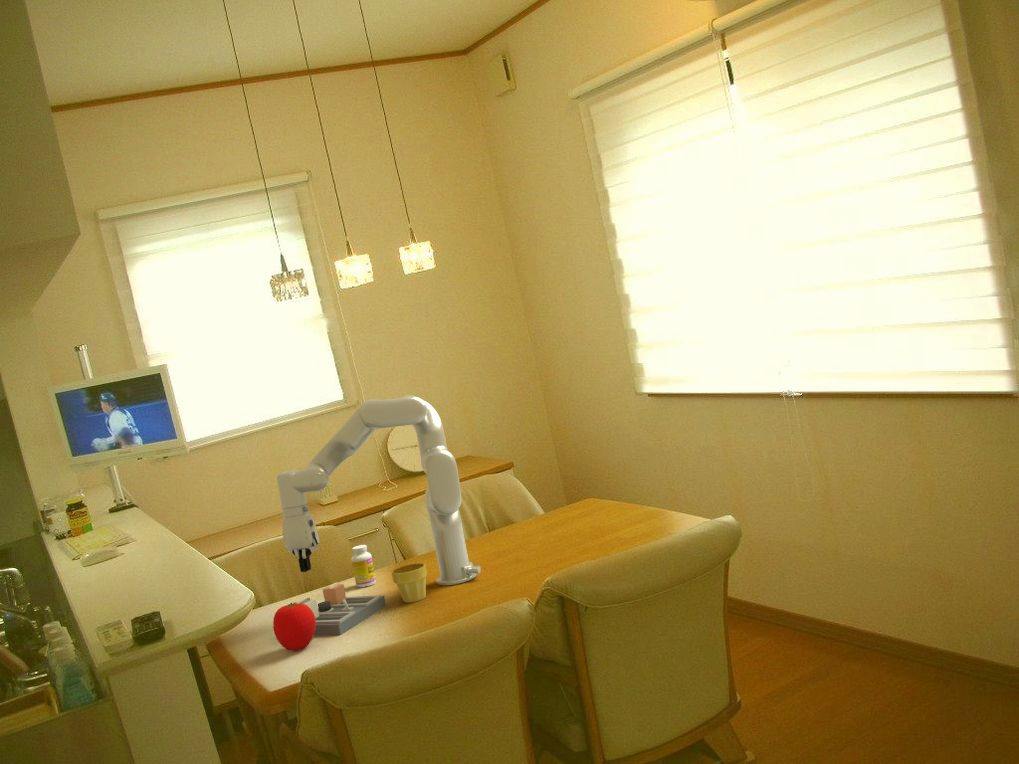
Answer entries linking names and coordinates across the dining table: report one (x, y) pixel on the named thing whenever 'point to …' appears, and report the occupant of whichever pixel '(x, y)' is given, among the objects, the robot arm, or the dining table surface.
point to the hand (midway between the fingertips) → (306, 570)
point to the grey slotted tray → (347, 614)
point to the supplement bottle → (363, 566)
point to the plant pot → (411, 581)
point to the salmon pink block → (334, 593)
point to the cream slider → (311, 606)
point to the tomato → (294, 626)
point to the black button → (324, 606)
